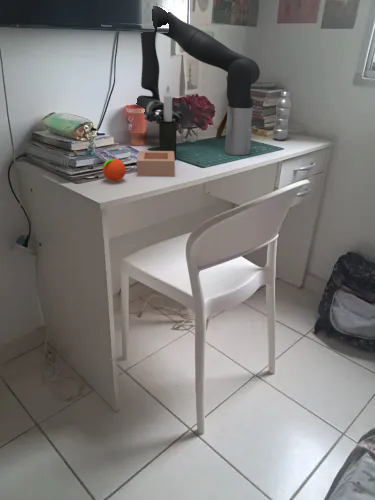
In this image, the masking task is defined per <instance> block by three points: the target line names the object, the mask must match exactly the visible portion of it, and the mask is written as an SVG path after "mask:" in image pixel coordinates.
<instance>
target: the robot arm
mask: <svg viewBox="0 0 375 500" xmlns="http://www.w3.org/2000/svg"><path fill="white" fill-rule="evenodd" d="M152 21H153V26H154V28H155V31H154V32H143V33H141V32H140V43H141V56H142V57H141V58H142V60H141V80H140V86H141V88H142V89H144V90H147V91H149V92H150V93H151V95H138V98H137V97H136V99H137V103H136V104H137V105H139V106H141V107H143V108H144V109H145V112H144V116H143V117H144V120H145V121H148V122H149V123H153V122H154V123H156V124H158V125H159V124H161V123H162V120H164V102H162V101H161V98H160V90H159V79H160V62H159V57H158V53H157V49H156V47H157V46H156V39H157V37H156V36H157V33H156V32H157V27H161V26H162V25H166V24H167V23H168V24H169V32H168V33H159V34H160V35H163V36H165V37H168V38H170V39H172V40H173V41H175V43H177V45H178V46H179V47H180V48H181V49H182V50H183V51H184V52H185V53H186V54H188V55H189V56H191V57H192V58H194V59H196V61H199V62H201V63H203V64H207V65H210V66H213V67H216V68H219V69H221V70H223V71H224V72H226V73H227V74H226V76H227V79H226V99H227V109H228V113H227V122H226V129H225V130H226V131H225V143H224V145H225V146H224V153H225V154H228V155H232V156H244V155H250V154H251V153H250V152H251V143H252V135H253V132H252V131H253V129H252V120H253V110H254V109H253V108H254V107H253V106H254V98H252V95H251V91H252V90H251V88H252V85H255V83H257V82H258V81H259V78H260V73H261V72H260V71H261V70H260V67H259V65H258V63H257V62H256V61H255V60H254V59H252V58H249V57H247V56H245V55H242V54H240V53H239V52H236V51H234V50H233V49H230V48H229V47H228V46H227V45H225V44H223V43H222V42H220V41H219V40H218V39H216V38H214V37H213V36H211V35H209V34H208V33H206V32H205V31H204V30H202V29H199V28H197V27H196V26H194V25H191V24H189V23H187V22H185V21H183V20H181V19H180V18H179V17H177V16H176V15H175V14H174V13H172V12H171V11H170V12H168V13H167V12H166V11H165V10H163V9H162V8H160V7H158V6H153V9H152ZM172 120H174V122H176V123H177V124H180V123H181V122H182V121H183V113H182V111H181V110H177V111H176V112H175V111H173V110H172Z"/></svg>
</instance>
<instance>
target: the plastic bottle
mask: <svg viewBox="0 0 375 500" xmlns="http://www.w3.org/2000/svg"><path fill="white" fill-rule="evenodd" d="M290 94H291V92H290V91H288V90H282V91H281V93H280V98H279V99H278V101H277V102H276V107H275V109H276V114H275V122H274V128H273V131H272V138H273V139H274V140H278V141H283V140H286V139H287V137H288V132H289V131H288V129H289V127H288V124H289V117H290V113H291V109H292V102H291V99H290V96H291V95H290Z"/></svg>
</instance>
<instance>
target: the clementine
mask: <svg viewBox="0 0 375 500" xmlns="http://www.w3.org/2000/svg"><path fill="white" fill-rule="evenodd" d="M102 173H103V174H102V175H104V177H105V178H106V179H107V180H108V181H110V182H118V181H120V180H122V179H124V177H125V174H126V165H125V164H124V162H123V161H122V160H120V159H119V158H116V157H114V158H112V157H111V158H109V159H107V160H106V161H105V162H104V163H103V166H102Z"/></svg>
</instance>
